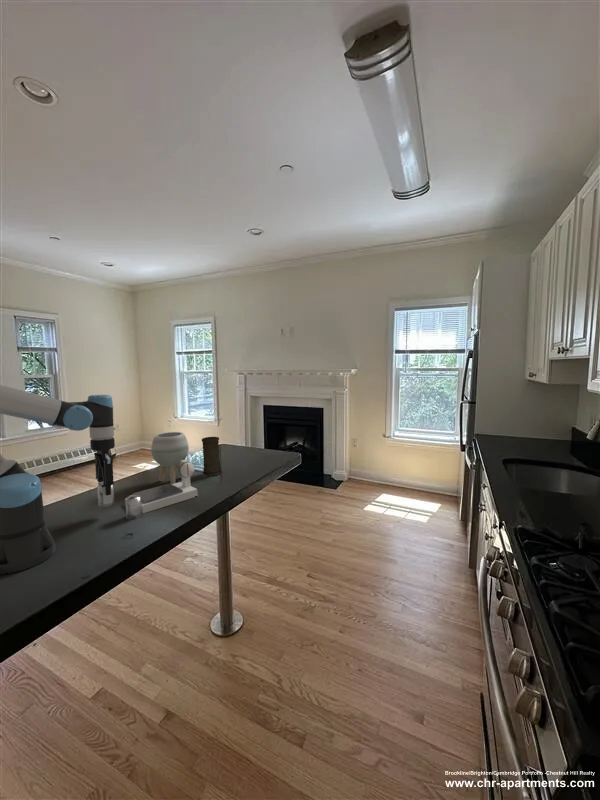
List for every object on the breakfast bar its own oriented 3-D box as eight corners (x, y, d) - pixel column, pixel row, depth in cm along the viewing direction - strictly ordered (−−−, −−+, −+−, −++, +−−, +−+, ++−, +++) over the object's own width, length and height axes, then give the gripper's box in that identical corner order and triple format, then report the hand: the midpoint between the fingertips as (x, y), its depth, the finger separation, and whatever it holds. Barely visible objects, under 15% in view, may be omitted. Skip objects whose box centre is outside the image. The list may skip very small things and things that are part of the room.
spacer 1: (100, 508, 120) (99, 488, 119) (96, 504, 124) (95, 485, 123) (116, 504, 124) (114, 485, 123) (111, 500, 127) (110, 482, 126)
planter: (175, 489, 149) (171, 439, 147) (145, 485, 155) (142, 437, 152) (197, 477, 165) (194, 431, 162) (170, 474, 170) (167, 430, 167)
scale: (142, 513, 125) (139, 476, 124) (129, 503, 135) (126, 468, 133) (202, 494, 142) (200, 462, 140) (186, 486, 152) (184, 456, 150)
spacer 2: (129, 520, 119) (127, 501, 119) (124, 516, 123) (123, 497, 122) (144, 516, 123) (142, 497, 122) (138, 512, 127) (137, 493, 126)
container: (219, 476, 165) (217, 440, 163) (200, 476, 165) (198, 440, 163) (223, 470, 174) (221, 436, 172) (206, 470, 174) (204, 436, 172)
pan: (144, 503, 126) (144, 501, 126) (133, 495, 135) (132, 493, 135) (182, 492, 137) (182, 490, 137) (169, 485, 145) (169, 483, 145)
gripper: (122, 440, 118) (125, 505, 120) (106, 433, 130) (109, 492, 132) (97, 443, 112) (101, 511, 114) (83, 436, 125) (87, 497, 127)
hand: (105, 501), depth 123 cm, fingers closed on spacer 1, 5 cm apart
